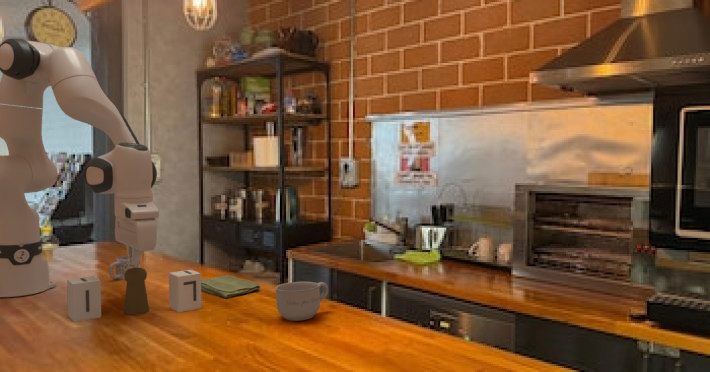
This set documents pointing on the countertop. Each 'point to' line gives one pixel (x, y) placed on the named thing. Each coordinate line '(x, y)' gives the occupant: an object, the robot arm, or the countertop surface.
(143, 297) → the dark brown tapered piece
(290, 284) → the teacup
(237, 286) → the washcloth
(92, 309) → the grey marked block
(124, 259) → the mug
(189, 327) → the countertop surface
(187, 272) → the cream marked block
